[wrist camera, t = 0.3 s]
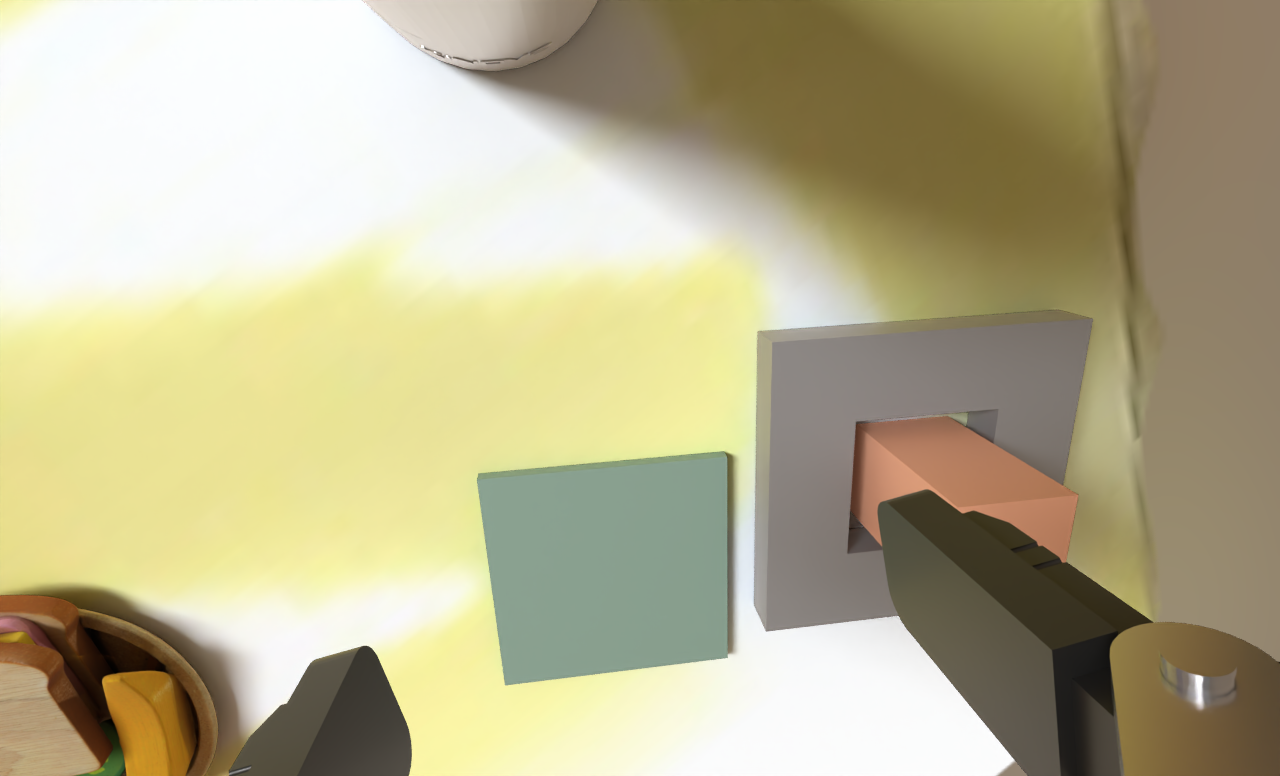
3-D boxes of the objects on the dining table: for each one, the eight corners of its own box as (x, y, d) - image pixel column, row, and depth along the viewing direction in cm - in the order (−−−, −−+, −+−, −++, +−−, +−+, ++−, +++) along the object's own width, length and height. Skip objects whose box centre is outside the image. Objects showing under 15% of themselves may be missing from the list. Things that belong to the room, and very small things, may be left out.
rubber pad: (478, 473, 28) (476, 479, 27) (723, 451, 29) (727, 456, 28) (506, 676, 31) (505, 685, 31) (724, 649, 32) (727, 657, 32)
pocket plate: (757, 331, 27) (772, 342, 26) (1058, 309, 29) (1093, 318, 27) (754, 604, 32) (766, 631, 30) (1015, 574, 33) (1042, 598, 31)
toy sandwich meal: (-33, 818, 31) (-135, 928, 26) (-122, 575, 26) (-260, 655, 22) (246, 798, 32) (196, 898, 28) (203, 565, 28) (135, 639, 24)
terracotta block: (855, 424, 29) (957, 507, 22) (947, 416, 30) (1078, 495, 22) (849, 510, 31) (943, 617, 23) (937, 501, 31) (1057, 603, 24)
